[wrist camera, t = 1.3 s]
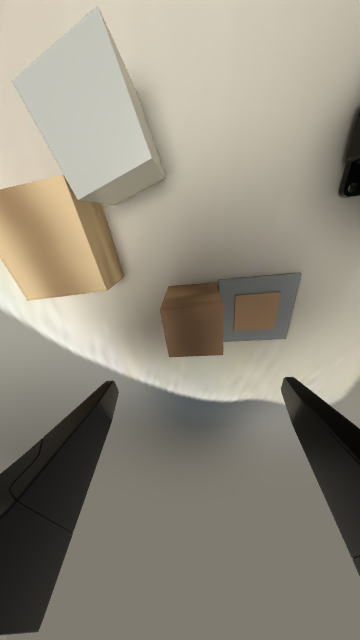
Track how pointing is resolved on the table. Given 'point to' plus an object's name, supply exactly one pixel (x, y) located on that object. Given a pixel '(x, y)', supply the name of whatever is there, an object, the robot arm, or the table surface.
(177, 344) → the walnut block
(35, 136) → the table surface
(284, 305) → the card
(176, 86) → the table surface
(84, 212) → the oak base
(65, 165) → the grey block
